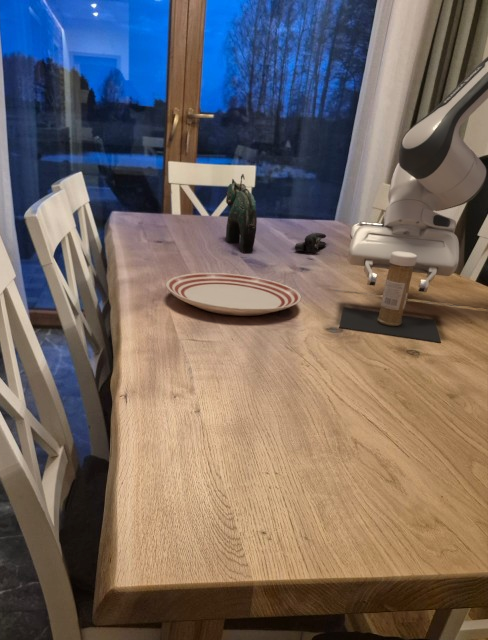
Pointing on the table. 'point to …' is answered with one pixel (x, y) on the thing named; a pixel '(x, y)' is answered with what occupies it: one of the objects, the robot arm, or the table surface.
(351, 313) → the rubber mat
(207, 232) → the table surface
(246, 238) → the green horse figurine
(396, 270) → the sprinkles bottle
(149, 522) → the table surface
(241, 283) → the dinner plate
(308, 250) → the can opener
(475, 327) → the table surface
